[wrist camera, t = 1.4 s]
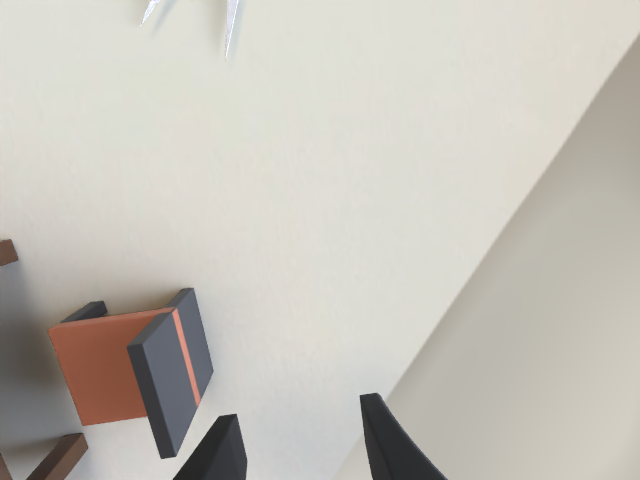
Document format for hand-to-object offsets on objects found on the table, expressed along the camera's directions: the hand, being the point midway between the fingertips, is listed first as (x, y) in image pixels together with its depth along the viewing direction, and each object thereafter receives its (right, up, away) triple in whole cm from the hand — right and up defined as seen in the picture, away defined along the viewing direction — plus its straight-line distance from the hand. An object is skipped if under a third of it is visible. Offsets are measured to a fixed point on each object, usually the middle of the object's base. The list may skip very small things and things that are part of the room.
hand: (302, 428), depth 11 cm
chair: (-9, +1, +8) cm, 12 cm away
